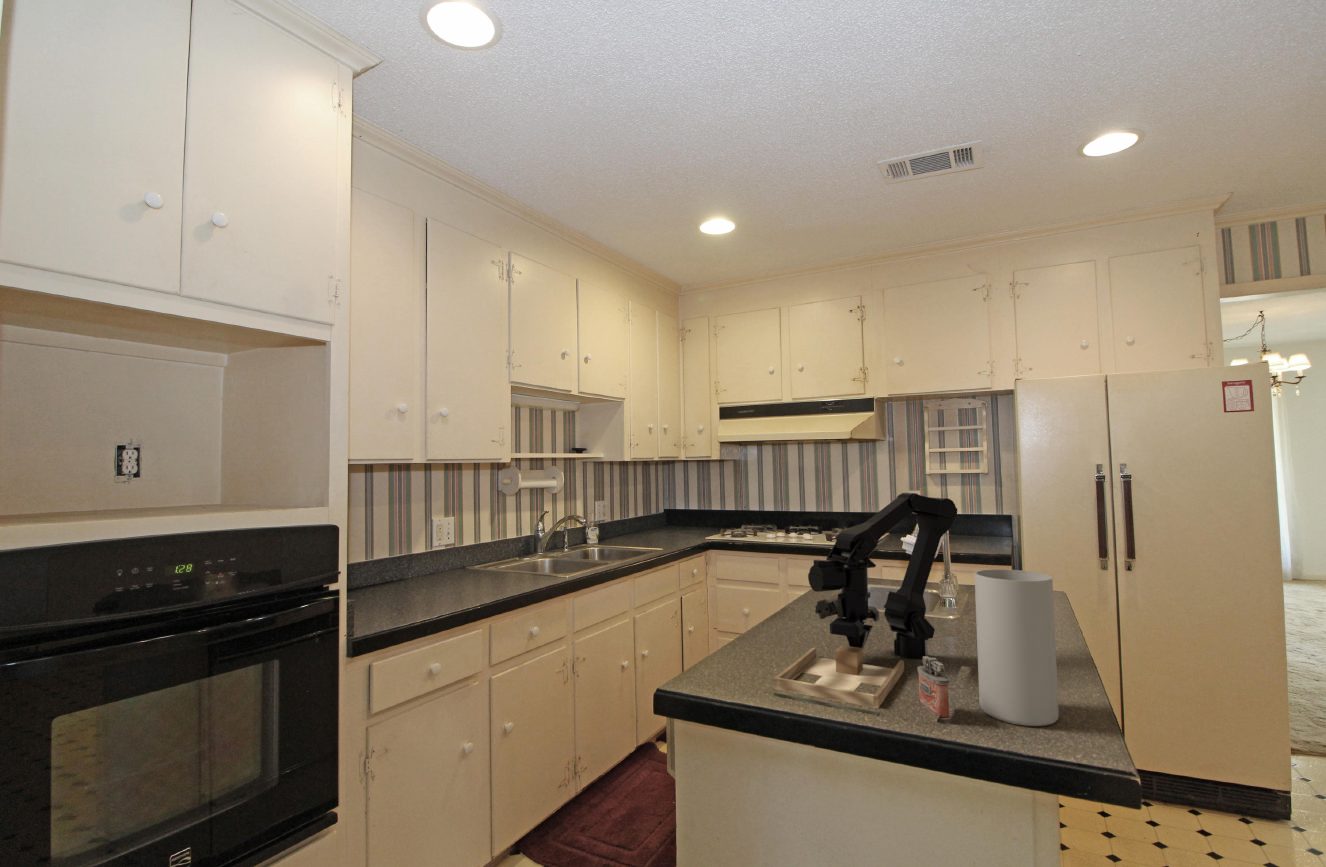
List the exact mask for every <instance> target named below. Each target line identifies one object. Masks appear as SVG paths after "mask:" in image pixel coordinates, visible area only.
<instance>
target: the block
mask: <svg viewBox="0 0 1326 867" xmlns="http://www.w3.org/2000/svg"><path fill="white" fill-rule="evenodd" d="M863 653H864V652H863V651H862V648H857V647H850V646H849V645H840V646H839V647H838V648H837V649H836V650H835V660H836V672H839V673H845V674H851V675H857V676H858V675H859V673H860V672H861V671H862V670H863V664H864V663H863V662H864V659H863V658H864V657H863Z"/></svg>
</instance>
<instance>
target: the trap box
mask: <svg viewBox="0 0 1326 867" xmlns="http://www.w3.org/2000/svg"><path fill="white" fill-rule="evenodd" d="M904 672H905V661H904V660H899V661H898V663H897V664H896V665H895V667H893V668H892V667H891V668H890V667H885V666H877V665H873V664H865V663H863V670H862V671H861V672H860V673H859V675H858V676H857V675H851V674H845V673H839V672H836V659H832V658H826V657H820V656H817V647H812V648H809V650H807V651H806V652H805V653H804V654H803V655H801V656H800V657H798V658H797V660H795V661H794V662H792V663H791V664H790V665H789V666H788V667H786V668H785V669H783V671H781V672H779V673H778V674H777V675H776V676H774V678H773V689H774V690H778V691H779V690H780V691H784V692H790V693H794V694H798V695H799V694H800V695H807V696H811V697H817V698H822V699H827V700H831V701H838V702H842V703H843V702H844V703H846V704H847V703H848V704H853V705H859V706H864V707H868V708H873V709H874V708H875V709H879V708H880V707H881V704H883V702H884V701H885V699H886V698H887V696H888V695H889V693H890V692H891V691H892V689H893V688H894V686H895V685H896V683H897V682H898V680H899V679H900V678H901V677H902V675H903V673H904ZM802 673H803V674H808V675H813V676H820V678H818V680H816V681H815V682H814V683H811V682H806V681H800V680H795V679H797V678H798V676H800V675H801V674H802ZM861 684H866V685H867V684H868V685H872V686H878V687H879V688H877V690H876V691H875V693H874V694H873V693H867V692H861V691H856V690H857V688H859V687H860V686H861ZM773 696H774V697H776V698H782V699H786V698H788V699H787V700H791V699H792V700H793V701H796V700H797V701H798V702H801V701H802V703H807V702H808V703H807V704H812V705H817V706H822V705H823V707H827V708H832V707H834V708H833V709H837V708H838V709H837V710H842V709H844V711H848V710H851V711H850V712H853V711H856V712H855V713H858V712H862V713H861V714H863V713H867V714H866V715H868V714H873V715H876V716H875V717H880V715H881V712H878V711H877V712H876V711H871V710H868V709H867V710H866V709H861V708H857V707H856V708H855V707H851V706H847V705H846V706H845V705H840V704H834V703H830V702H827V701H826V702H825V701H819V700H814V699H809V698H804V697H799V696H794V695H790V694H784V693H777V692H774V693H773ZM797 701H796V702H797ZM845 709H846V710H845ZM879 714H880V715H879ZM873 715H872V716H873Z"/></svg>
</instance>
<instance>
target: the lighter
mask: <svg viewBox="0 0 1326 867" xmlns="http://www.w3.org/2000/svg"><path fill="white" fill-rule="evenodd" d="M922 664H923V665H919V666H917V672H918V687H919V689H918V691H919V701H920V703H921V704H923V706H925V708H927V709H929V710H930V711H932V712H934V713H935V714H938V718H937V721H936V723H938V722H939V723H938V724H942V723H943V724H944V723H945V725H947V723H948V724H951V722H952V720H951V715H950V703H949V702H950V701H949V684H950V678H949V677H948V675H946V674H944V673H945V665H944V664H943V663H941V662H939V661H938V659H937V658H936V657H931V656H929V655H928V656H923V659H922Z"/></svg>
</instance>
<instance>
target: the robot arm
mask: <svg viewBox="0 0 1326 867" xmlns="http://www.w3.org/2000/svg"><path fill="white" fill-rule="evenodd" d="M912 514H916V523H917V527H918V533H917V537H916V539H915V541H914V542H915V543H914V545H913V549H912V552H911V555H910V558H909V561H908V563H907V564H908V565H907V567H906V570H905V572H904V574H905V575H904V577H903V580H902V584H901V586H900V588H898V590H896V591H895V592H894V591H891V590H890V591H889V592H888V594H887V598H886V602H885V604H884V605H883V609H884V617H885V620H886V622H887V623H888V625H889V628H890V630H891V632H893V633H896V636H895V637H896V638H894V640H893V652H894V653H893V654H894V655H895V656H898V657H901V658H903V659H909V660H923V656H928V657H929V653H928V652H929V651H928V648H929V647H928V640H930V639H933V638H934V635H935V627H934V626H933V625H932V624H931V623H930V622H929V621H928V620H927V619H926V618H925V617H926V612H927V611H926V610H927V607H926V602H925V598H924V593H925V590H926V587H927V583H928V580H929V577H930V573H931V571H932V567H933V565H934V560H935V557H936V555H937V551H938V547H939V545H940V541H941V538H942V537H943V536H944V535H946V533H947V532H948V531H949V530H950V529H951V528H952V527H953V525H954V522H955V520H956V518H957V516H958V508H957V506H956V504H955V502H954V501H953V500H952V499H951V498H945V497H932V496H931V497H930V496H929V497H928V496H925V495H920V494H918V493H917V492H916V493H913V492H902V493H900V494H898V496H897V497H896V498H895V499H894V500H892V501H891V502H890V503H888V504H887V505H886V506H884V507H883V508H882V509H881V510H880V511H877V512H876V513H875V514H874V515H873V516H872V517H870V518H869V519H868V520H866V521H864V522H863V523H860V524H857V525H854V526H851V527H849V528H847V529H845V530H843V531H841V532H839V534H837V536H836V537H835V539H836V540H835V543H834V544H833V546H832V547H831V550H830V552H829V553H828V554H827V556H826V559H813V565H811V567H810V568H809V573H808V574H807V579H808V583H809V586H810V587H811V589H812V590H813V591H814V592H817V593H819V592H829V591H830V592H831V591H840V590H841V591H840V592H839V593H838V594H837V597H836V598H835V597H834V598H832V599H829V600H827V599H826V598H824V599H822V600H820V599H819V600H818V601H816V605H815V610H814V613H815V614H816V615H818V616H819V619H820V620H824V619H826V618H828V617H832V616H835V615H836V616H837V617H836V618H835V619H834V620H833V621H831V622H830V624H829V634H831V635H836V636H837V635H838V636H845V637H846V639H847V642H848V646H850V647H857V648H862V652H863V650H864V649H865V646H866V644H867V641H868V639H869V636H870V634H871V631H872V629H873V627H874V626H873V625H871V624H870V625H869V624H867V621H866V620H868V619H872V620H873V622H878V621H879V620H880V611H879V609H878V608H877V607H875V606H870V605H869V598H871V591H869V584H868V583H869V581H868V580H869V578H868V576H869V575H868V569H871V568H873V569H874V568H876V566H877V565H876V564H875V563H874V561H872V560H871V559H870V557H869V556H871V554H872V553H873V552H874V550H876V548H877V547H878V544H879V541H880V540H881V538H882V537H884V536H885V535H886V534H887V533H888V532H890V531H892V529H894V528H895V527H896V526H898V525H899V524H900V523H901V522H903V521H904V520H905V519H906V518H908V517H909V516H910V515H912Z"/></svg>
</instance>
